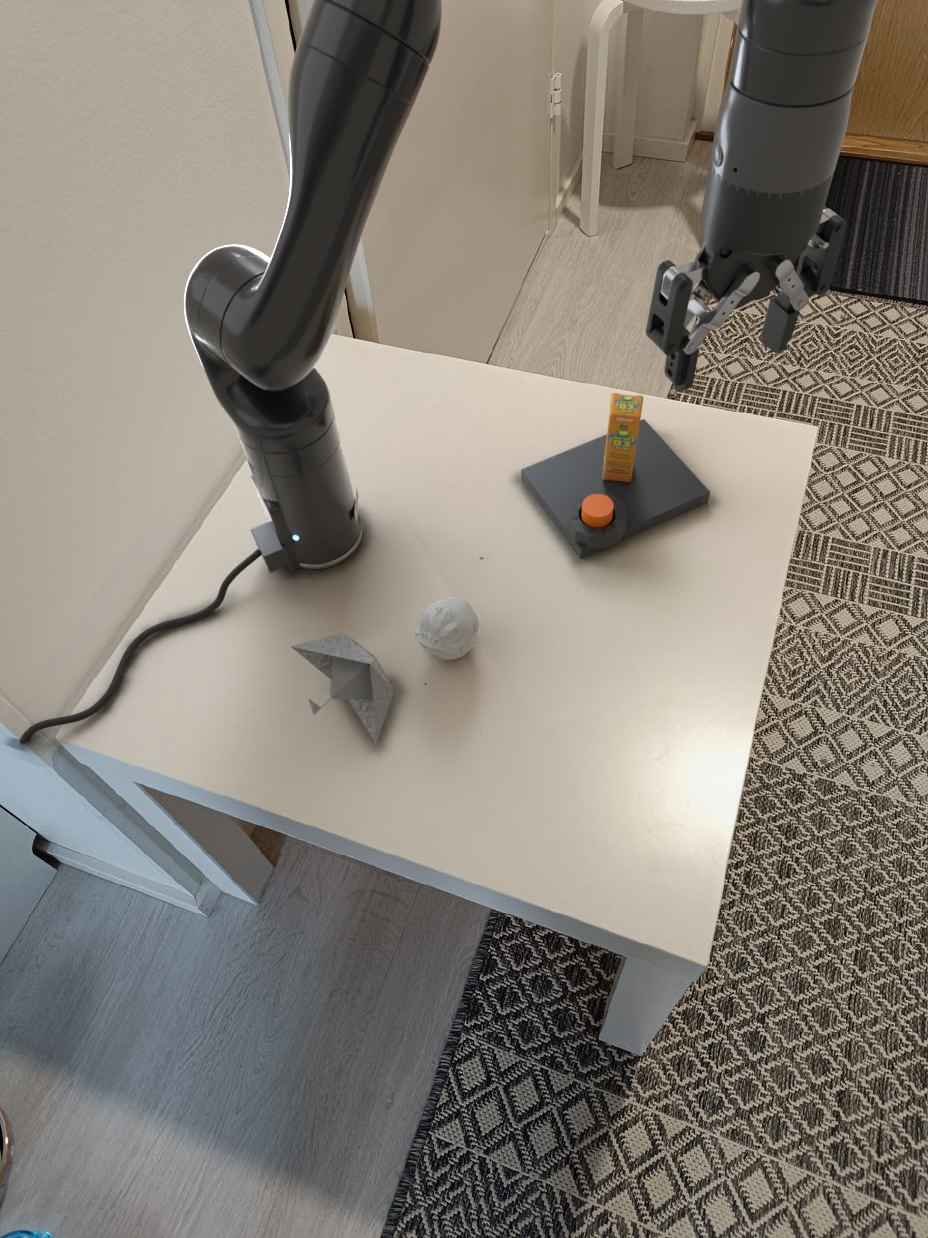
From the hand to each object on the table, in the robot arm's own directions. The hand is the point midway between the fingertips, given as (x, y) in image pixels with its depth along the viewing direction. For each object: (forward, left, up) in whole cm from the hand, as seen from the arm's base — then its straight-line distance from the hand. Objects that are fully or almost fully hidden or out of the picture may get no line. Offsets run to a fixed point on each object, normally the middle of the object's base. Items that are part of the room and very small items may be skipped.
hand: (726, 364), depth 69 cm
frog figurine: (-24, +4, -28) cm, 37 cm away
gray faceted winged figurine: (-35, +4, -28) cm, 45 cm away
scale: (+1, +14, -28) cm, 31 cm away
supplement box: (+2, +15, -27) cm, 31 cm away
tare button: (-4, +9, -25) cm, 27 cm away
